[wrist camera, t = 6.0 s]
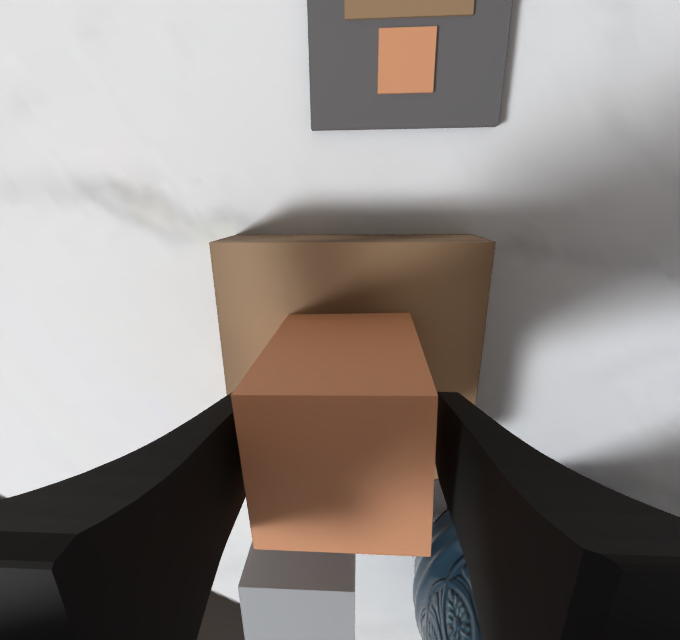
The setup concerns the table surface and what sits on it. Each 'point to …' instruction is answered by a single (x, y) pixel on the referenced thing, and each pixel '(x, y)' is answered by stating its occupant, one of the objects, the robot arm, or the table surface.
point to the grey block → (298, 595)
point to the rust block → (339, 437)
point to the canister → (444, 589)
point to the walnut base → (357, 293)
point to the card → (406, 63)
